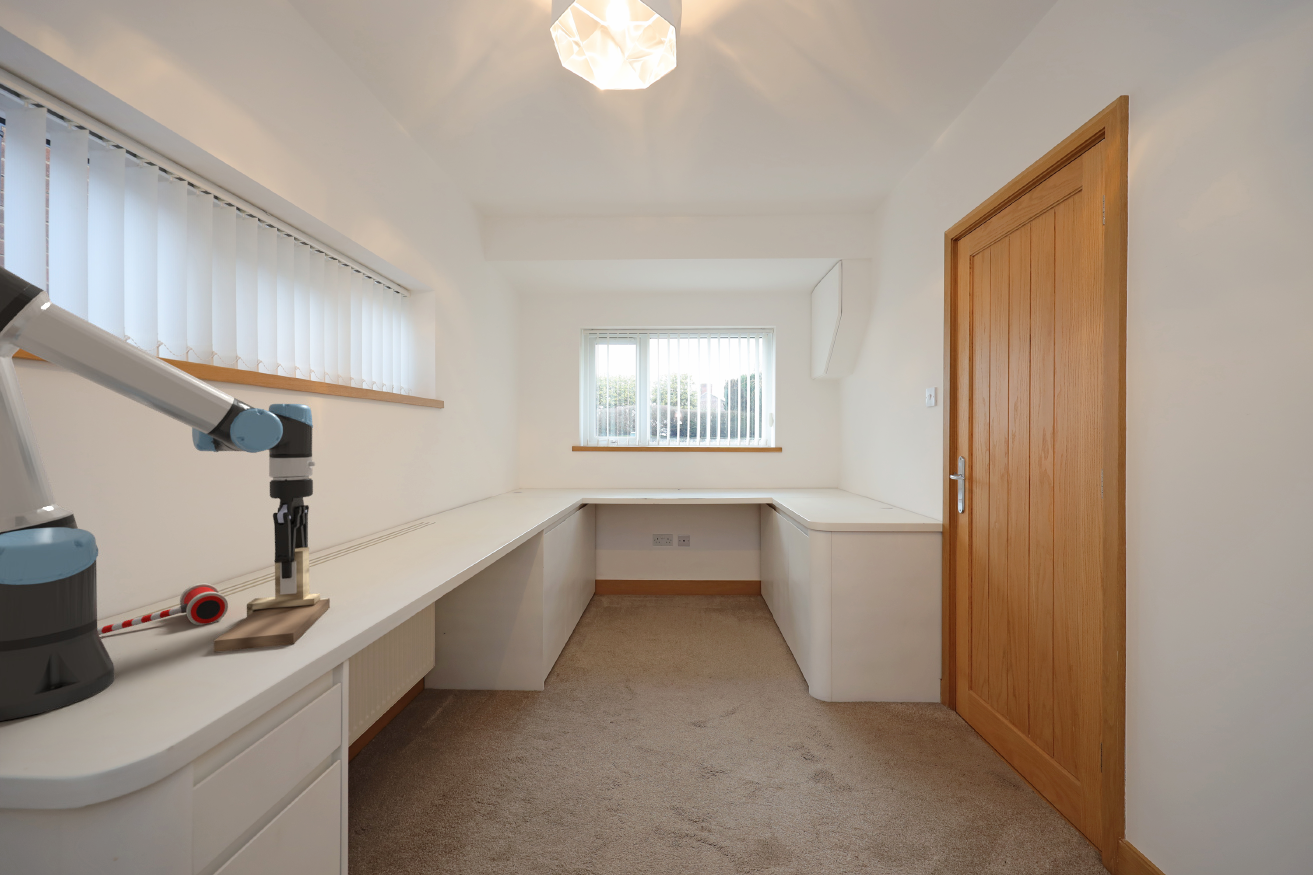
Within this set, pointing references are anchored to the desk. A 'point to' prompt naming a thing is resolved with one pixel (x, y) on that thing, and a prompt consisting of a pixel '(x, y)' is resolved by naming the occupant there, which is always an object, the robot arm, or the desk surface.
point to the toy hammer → (185, 608)
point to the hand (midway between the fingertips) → (292, 590)
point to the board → (271, 627)
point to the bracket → (289, 599)
